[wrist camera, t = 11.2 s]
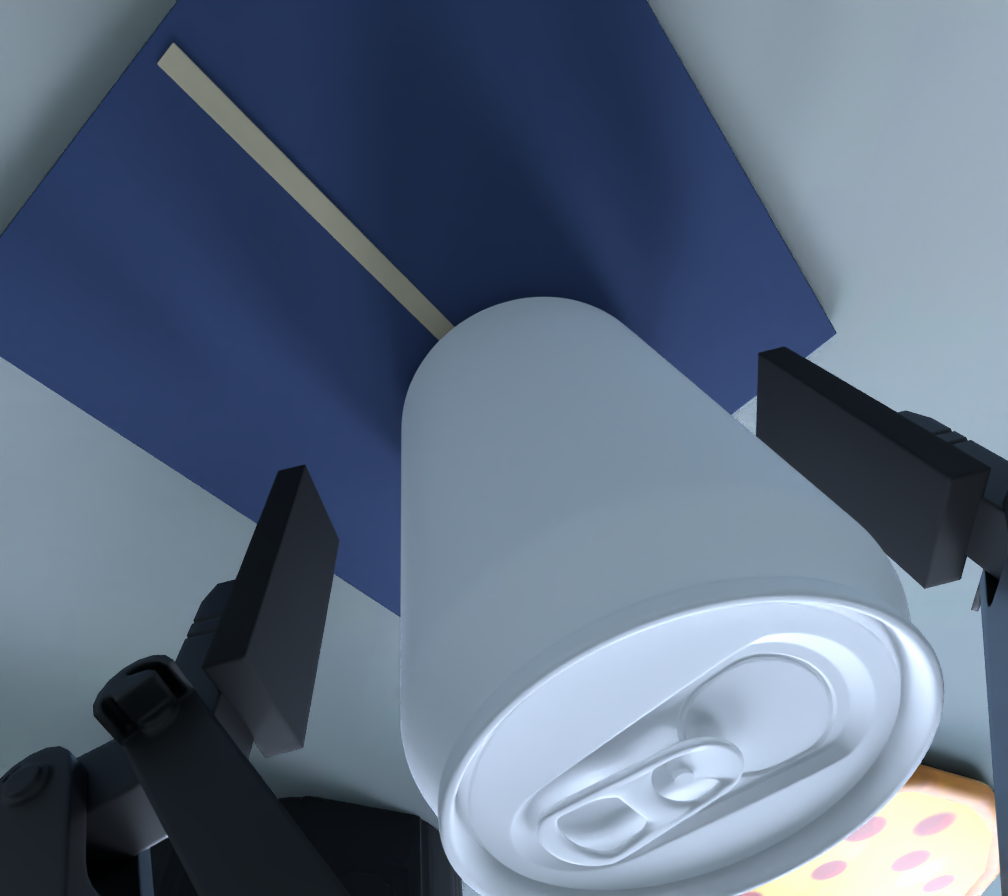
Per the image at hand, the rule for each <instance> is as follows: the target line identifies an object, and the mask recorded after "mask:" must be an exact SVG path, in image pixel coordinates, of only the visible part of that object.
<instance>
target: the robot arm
mask: <svg viewBox="0 0 1008 896" xmlns="http://www.w3.org/2000/svg"><path fill="white" fill-rule="evenodd" d="M756 437H758V438H759V439H760V440H761V441H762V442H763V443H765V444H766V445H767V446H768V447H769V448H771V449H772V450H773V451H774V452H775V453H776V454H778V455H779V456H780V457H781V458H782V459H784V460H785V461H786V462H787V463H788V464H789V465H791V466H792V467H793V468H794V469H795V470H796V471H798V472H799V473H800V474H801V475H802V476H804V477H805V478H806V479H807V480H808V481H809V482H811V483H812V484H813V485H814V486H815V487H817V488H818V489H819V490H820V491H821V492H822V493H824V494H825V495H826V496H827V497H828V498H830V499H831V500H832V501H833V502H834V503H835V504H837V505H838V506H839V507H840V508H841V509H842V510H844V511H845V512H846V513H847V514H848V515H850V516H851V517H852V518H853V519H854V520H855V521H856V522H858V523H859V524H860V525H861V526H862V527H863V528H864V529H865V530H866V531H867V532H868V533H869V534H870V535H871V536H872V537H873V538H874V540H875V541H876V542H877V543H878V545H879V546H880V547H881V549H882V550H883V551H884V552H885V553H886V554H887V555H888V556H889V557H890V558H891V559H892V560H893V561H895V562H896V563H897V564H898V565H899V566H900V567H901V568H902V569H903V570H905V571H906V572H907V573H908V574H909V575H910V576H911V577H912V578H913V579H915V580H916V581H917V582H918V583H919V584H920V585H921V586H922V587H923V588H924V589H925V588H929V587H933V586H937V585H941V584H945V583H949V582H953V581H957V580H960V579H961V576H962V573H963V569H964V565H965V562H966V558H967V556H968V557H969V558H970V559H971V560H973V561H974V562H975V563H977V564H978V565H979V566H980V567H982V568H983V572H982V575H981V578H980V582H979V585H978V588H977V592H976V595H975V598H974V602H973V605H972V608H971V610H974V611H978V610H979V608H980V605H981V614H982V628H983V642H984V656H985V670H986V683H987V697H988V711H989V725H990V739H991V753H992V767H993V781H994V794H995V808H996V822H997V836H998V850H999V864H1000V878H1001V891H1002V896H1008V461H1007V460H1005V459H1004V458H1002V457H1000V456H998V455H996V454H995V453H993V452H991V451H989V450H988V449H986V448H984V447H982V446H980V445H979V444H977V443H975V442H973V441H972V440H969V441H968V440H967V438H966V437H964V436H963V435H961V434H959V433H957V432H955V431H953V432H952V431H951V429H950V428H948V427H947V426H945V425H943V424H941V423H939V422H938V421H936V420H934V419H932V418H930V417H926V416H923V415H919V414H916V413H913V412H909V411H902V412H898V413H897V412H896V411H894V410H892V409H890V408H889V407H887V406H885V405H884V404H882V403H880V402H879V401H877V400H875V399H873V398H872V397H870V396H868V395H867V394H865V393H863V392H862V391H860V390H858V389H856V388H855V387H853V386H851V385H850V384H848V383H846V382H845V381H843V380H841V379H840V378H838V377H836V376H834V375H833V374H831V373H829V372H828V371H826V370H824V369H823V368H821V367H819V366H817V365H816V364H814V363H812V362H811V361H809V360H807V359H806V358H804V357H802V356H800V355H799V354H797V353H795V352H794V351H792V350H790V349H789V348H787V347H785V346H783V347H779V348H775V349H771V350H767V351H763V352H759V353H758V384H757V422H756ZM339 541H340V540H339V538H338V536H337V534H336V531H335V529H334V527H333V525H332V522H331V520H330V518H329V516H328V514H327V511H326V509H325V507H324V505H323V502H322V500H321V498H320V496H319V493H318V491H317V489H316V487H315V485H314V482H313V480H312V478H311V476H310V473H309V471H308V469H307V467H306V464H304V465H300V466H296V467H291V468H287V469H283V470H279V471H278V472H277V475H276V477H275V480H274V483H273V485H272V488H271V490H270V493H269V495H268V498H267V500H266V503H265V506H264V508H263V511H262V513H261V516H260V518H259V521H258V523H257V526H256V529H255V531H254V534H253V536H252V539H251V541H250V544H249V547H248V549H247V552H246V554H245V557H244V559H243V562H242V564H241V567H240V570H239V572H238V575H237V577H236V579H235V580H231V581H227V582H223V583H219V584H217V585H216V586H215V587H214V588H213V590H212V591H211V592H210V593H209V594H208V595H207V596H206V598H205V599H204V600H203V601H202V602H201V605H200V607H199V609H198V611H197V614H196V616H195V618H194V624H192V625H191V627H190V629H189V632H188V634H187V639H185V641H184V643H183V645H182V647H181V650H180V652H179V654H178V656H177V659H176V661H175V662H174V661H173V659H171V658H169V657H167V656H166V655H152V656H149V657H146V658H143V659H140V660H138V661H136V662H134V663H132V664H131V665H129V666H127V667H125V668H123V669H122V670H121V671H120V672H119V673H117V674H116V675H115V676H114V677H113V678H111V679H110V680H109V681H108V682H107V684H106V685H105V686H104V687H103V688H102V690H101V691H100V692H99V693H98V695H97V698H96V700H95V702H94V704H93V715H94V717H95V718H96V719H97V720H98V721H99V722H100V724H101V725H102V726H103V727H104V728H105V729H106V730H107V731H108V732H109V733H110V734H111V736H112V737H113V738H114V739H113V740H111V741H109V742H107V743H105V744H103V745H101V746H99V747H97V748H95V749H93V750H91V751H90V752H88V753H86V754H84V755H82V756H80V757H78V758H76V757H75V756H74V755H73V754H72V753H71V752H70V751H69V750H67V749H65V748H63V747H60V746H57V747H49V748H45V749H43V750H40V751H38V752H36V753H33V754H31V755H29V756H28V757H26V758H25V759H23V760H22V761H20V762H19V763H18V764H16V765H15V766H13V767H12V768H11V769H10V770H9V771H8V772H7V773H6V774H5V775H4V776H3V777H1V778H0V896H154V890H153V878H152V866H151V854H150V847H152V846H154V845H155V844H157V843H159V842H161V841H162V840H164V839H166V838H169V840H170V842H171V844H172V846H173V848H174V850H175V851H176V853H177V855H178V857H179V859H180V861H181V863H182V865H183V867H184V869H185V871H186V873H187V875H188V876H189V878H190V880H191V882H192V884H193V886H194V888H195V890H196V892H197V894H198V896H351V895H350V894H349V892H348V891H347V890H346V888H345V887H344V886H343V884H342V883H341V882H340V880H339V879H338V878H337V876H336V875H335V874H334V872H333V871H332V870H331V868H330V867H329V866H328V864H327V863H326V862H325V861H324V859H323V858H322V857H321V855H320V854H319V853H318V851H317V850H316V849H315V847H314V846H313V845H312V843H311V842H310V841H309V839H308V838H307V837H306V835H305V834H304V833H303V831H302V830H301V829H300V828H299V826H298V825H297V824H296V822H295V821H294V820H293V818H292V817H291V816H290V814H289V813H288V812H287V810H286V809H285V808H284V806H283V805H282V804H281V802H280V801H279V800H278V799H277V797H276V796H275V795H274V793H273V792H272V791H271V789H270V788H269V787H268V785H267V784H266V783H265V781H264V780H263V779H262V777H261V776H260V775H259V773H258V772H257V771H256V769H255V768H254V767H253V766H252V764H251V763H250V762H249V756H250V752H251V748H252V744H253V741H254V742H255V744H256V745H257V747H258V748H259V749H260V751H261V752H262V754H263V755H264V757H265V758H266V757H270V756H274V755H278V754H282V753H286V752H290V751H294V750H298V749H301V748H303V746H304V740H305V734H306V729H307V723H308V717H309V712H310V706H311V700H312V694H313V689H314V683H315V677H316V672H317V666H318V660H319V655H320V649H321V643H322V638H323V632H324V626H325V621H326V615H327V609H328V603H329V598H330V592H331V586H332V581H333V575H334V569H335V564H336V558H337V552H338V547H339Z"/></svg>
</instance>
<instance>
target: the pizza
mask: <svg viewBox="0 0 1008 896" xmlns="http://www.w3.org/2000/svg"><path fill="white" fill-rule="evenodd" d="M999 873H1000V864H999V850H998V836H997V822H996V808H995V794H994V792H993V791H992V789H991V788H990V787H989V785H987V784H985V783H983V782H981V781H978V780H974V779H971V778H967V777H964V776H960V775H957V774H953V773H950V772H946V771H943V770H939V769H936V768H932V767H929V766H925V765H922V764H919V766H918V767H917V769H916V770H915V772H914V773H913V774H912V776H911V777H910V778H909V780H908V781H907V782H906V783H905V785H904V786H903V787H902V788H901V789H900V790H899V792H898V793H897V794H896V795H895V796H894V797H893V798H892V799H891V800H890V801H889V802H888V803H887V804H886V805H885V806H884V807H883V808H882V809H881V810H880V811H879V812H878V813H877V814H876V815H875V816H873V817H872V818H871V819H870V820H869V821H868V822H866V823H865V824H864V825H863V826H862V827H860V828H859V829H858V830H857V831H855V832H854V833H853V834H851V835H850V836H849V837H847V838H846V839H844V840H843V841H842V842H840V843H839V844H837V845H836V846H834V847H833V848H831V849H830V850H828V851H827V852H825V853H824V854H822V855H820V856H819V857H817V858H815V859H814V860H812V861H810V862H809V863H807V864H805V865H803V866H801V867H800V868H798V869H796V870H794V871H792V872H790V873H788V874H786V875H784V876H782V877H780V878H778V879H776V880H774V881H772V882H769V883H767V884H765V885H763V886H760V887H758V888H756V889H753V890H751V891H748V892H746V893H743V894H741V895H738V896H980V895H981V894H982V893H983V892H984V890H985V889H986V888H987V887H988V886H989V885H990V883H991V882H992V881H993V880H994V879H995V878H996V877H997V875H998V874H999Z"/></svg>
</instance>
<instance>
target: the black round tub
mask: <svg viewBox="0 0 1008 896" xmlns="http://www.w3.org/2000/svg"><path fill="white" fill-rule="evenodd" d="M278 800H279V801H280V802H281V804H282V805H283V806H284V808H285V809H286V810H287V812H288V813H289V814H290V816H291V817H292V818H293V820H294V821H295V822H296V824H297V825H298V826H299V828H300V829H301V830H302V831H303V833H304V834H305V835H306V837H307V838H308V839H309V841H310V842H311V843H312V845H313V846H314V847H315V849H316V850H317V851H318V853H319V854H320V855H321V857H322V858H323V859H324V861H325V862H326V863H327V864H328V866H329V867H330V868H331V870H332V871H333V872H334V874H335V875H336V876H337V878H338V879H339V880H340V882H341V883H342V884H343V886H344V887H345V888H346V890H347V891H348V892H349V894H350V895H351V896H463V895H462V881H461V877H460V876H459V875H458V874H457V872H456V871H455V870H454V868H453V867H452V865H451V864H450V862H449V860H448V858H447V856H446V853H445V851H444V848H443V845H442V842H441V837H440V832H439V831H438V830H436V829H435V828H434V827H433V826H431V825H430V824H428V823H426V822H424V821H422V820H421V819H420V817H418V816H412V815H407V814H402V813H396V812H391V811H385V810H380V809H375V808H369V807H364V806H358V805H353V804H347V803H342V802H337V801H331V800H326V799H320V798H315V797H309V796H306V797H303V798H283V799H278ZM150 854H151V866H152V878H153V890H154V896H198V894H197V892H196V890H195V888H194V886H193V884H192V882H191V880H190V878H189V876H188V875H187V873H186V871H185V869H184V867H183V865H182V863H181V861H180V859H179V857H178V855H177V853H176V851H175V850H174V848H173V846H172V844H171V842H170V840H169V838H166V839H164V840H162V841H161V842H159V843H157V844H155V845H154V846H152V847H150Z"/></svg>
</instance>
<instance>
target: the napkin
mask: <svg viewBox="0 0 1008 896" xmlns="http://www.w3.org/2000/svg"><path fill="white" fill-rule="evenodd" d="M530 297H558V298H566V299H571V300H576V301H580V302H583V303H586V304H589V305H592V306H594V307H596V308H599V309H601V310H603V311H605V312H606V313H608V314H610V315H611V316H613V317H614V318H616V319H617V320H619V321H620V322H621V323H623V324H624V325H625V326H626V327H628V328H629V329H630V330H631V331H632V332H634V333H635V334H636V335H637V336H638V337H639V338H641V339H642V340H643V341H644V342H645V343H647V344H648V345H649V346H650V347H651V348H652V349H654V350H655V351H656V352H657V353H658V354H660V355H661V356H662V357H663V358H664V359H665V360H667V361H668V362H669V363H670V364H671V365H673V366H674V367H675V368H676V369H677V370H678V371H680V372H681V373H682V374H683V375H684V376H685V377H687V378H688V379H689V380H690V381H691V382H693V383H694V384H695V385H696V386H697V387H698V388H700V389H701V390H702V391H703V392H704V393H706V394H707V395H708V396H709V397H710V398H711V399H713V400H714V401H715V402H716V403H717V404H719V405H720V406H721V407H722V408H723V409H724V410H726V411H727V412H728V413H729V414H730V415H731V414H733V413H734V412H735V411H737V410H738V409H739V408H740V407H742V406H743V405H744V404H746V403H747V402H748V401H750V400H751V399H752V398H753V397H755V396H756V395H757V384H758V353H759V352H763V351H767V350H771V349H775V348H779V347H783V346H785V347H787V348H789V349H790V350H792V351H794V352H795V353H797V354H799V355H800V356H802V357H804V358H805V357H807V356H808V355H809V354H811V353H812V352H813V351H814V350H816V349H817V348H818V347H820V346H821V345H822V344H823V343H825V342H826V341H827V340H829V339H830V338H831V337H833V336H834V335H835V334H836V331H835V329H834V327H833V326H832V324H831V322H830V320H829V319H828V317H827V315H826V313H825V312H824V310H823V308H822V306H821V305H820V303H819V301H818V299H817V298H816V296H815V294H814V292H813V291H812V289H811V287H810V285H809V284H808V282H807V280H806V278H805V277H804V275H803V273H802V272H801V270H800V268H799V266H798V265H797V263H796V261H795V259H794V258H793V256H792V254H791V252H790V251H789V249H788V247H787V245H786V244H785V242H784V240H783V238H782V237H781V235H780V233H779V231H778V230H777V228H776V226H775V224H774V223H773V221H772V219H771V217H770V216H769V214H768V212H767V210H766V209H765V207H764V205H763V203H762V202H761V200H760V198H759V196H758V195H757V193H756V191H755V189H754V188H753V186H752V184H751V182H750V181H749V179H748V177H747V175H746V174H745V172H744V170H743V168H742V167H741V165H740V163H739V161H738V160H737V158H736V156H735V154H734V153H733V151H732V149H731V147H730V146H729V144H728V142H727V140H726V139H725V137H724V135H723V133H722V132H721V130H720V128H719V126H718V125H717V123H716V121H715V119H714V118H713V116H712V114H711V112H710V111H709V109H708V107H707V105H706V104H705V102H704V100H703V98H702V97H701V95H700V93H699V91H698V90H697V88H696V86H695V84H694V83H693V81H692V79H691V77H690V76H689V74H688V72H687V70H686V69H685V67H684V65H683V63H682V62H681V60H680V58H679V56H678V55H677V53H676V51H675V49H674V48H673V46H672V44H671V42H670V41H669V39H668V37H667V35H666V34H665V32H664V30H663V28H662V27H661V25H660V23H659V21H658V20H657V18H656V16H655V14H654V13H653V11H652V9H651V7H650V6H649V4H648V2H647V0H178V1H177V2H176V3H175V5H174V6H173V7H172V9H171V10H170V11H169V13H168V14H167V15H166V17H165V18H164V19H163V21H162V22H161V23H160V25H159V26H158V27H157V29H156V30H155V31H154V33H153V34H152V35H151V37H150V38H149V39H148V41H147V42H146V43H145V45H144V46H143V47H142V49H141V50H140V51H139V52H138V54H137V55H136V56H135V58H134V59H133V60H132V62H131V63H130V64H129V66H128V67H127V68H126V70H125V71H124V72H123V74H122V75H121V76H120V78H119V79H118V80H117V82H116V83H115V84H114V86H113V87H112V88H111V90H110V91H109V92H108V94H107V95H106V96H105V98H104V99H103V100H102V102H101V103H100V104H99V106H98V107H97V108H96V110H95V111H94V112H93V114H92V115H91V116H90V118H89V119H88V120H87V122H86V123H85V124H84V126H83V127H82V128H81V130H80V131H79V132H78V134H77V135H76V136H75V138H74V139H73V140H72V141H71V143H70V144H69V145H68V147H67V148H66V149H65V151H64V152H63V153H62V155H61V156H60V157H59V159H58V160H57V161H56V163H55V164H54V165H53V167H52V168H51V169H50V171H49V172H48V173H47V175H46V176H45V177H44V179H43V180H42V181H41V183H40V184H39V185H38V187H37V188H36V189H35V191H34V192H33V193H32V195H31V196H30V197H29V199H28V200H27V201H26V203H25V204H24V205H23V207H22V208H21V209H20V211H19V212H18V213H17V215H16V216H15V217H14V219H13V220H12V221H11V223H10V224H9V225H8V227H7V228H6V229H5V230H4V232H3V233H2V234H1V236H0V357H2V358H4V359H5V360H7V361H8V362H10V363H11V364H13V365H14V366H16V367H17V368H19V369H20V370H22V371H23V372H25V373H27V374H28V375H30V376H31V377H33V378H34V379H36V380H37V381H39V382H40V383H42V384H43V385H45V386H46V387H48V388H50V389H51V390H53V391H54V392H56V393H57V394H59V395H60V396H62V397H63V398H65V399H66V400H68V401H70V402H71V403H73V404H74V405H76V406H77V407H79V408H80V409H82V410H83V411H85V412H86V413H88V414H89V415H91V416H93V417H94V418H96V419H97V420H99V421H100V422H102V423H103V424H105V425H106V426H108V427H109V428H111V429H113V430H114V431H116V432H117V433H119V434H120V435H122V436H123V437H125V438H126V439H128V440H129V441H131V442H132V443H134V444H136V445H137V446H139V447H140V448H142V449H143V450H145V451H146V452H148V453H149V454H151V455H152V456H154V457H155V458H157V459H159V460H160V461H162V462H163V463H165V464H166V465H168V466H169V467H171V468H172V469H174V470H175V471H177V472H179V473H180V474H182V475H183V476H185V477H186V478H188V479H189V480H191V481H192V482H194V483H195V484H197V485H198V486H200V487H202V488H203V489H205V490H206V491H208V492H209V493H211V494H212V495H214V496H215V497H217V498H218V499H220V500H222V501H223V502H225V503H226V504H228V505H229V506H231V507H232V508H234V509H235V510H237V511H238V512H240V513H241V514H243V515H245V516H246V517H248V518H249V519H251V520H252V521H254V522H255V523H258V521H259V518H260V516H261V513H262V511H263V508H264V506H265V503H266V500H267V498H268V495H269V493H270V490H271V488H272V485H273V483H274V480H275V477H276V475H277V472H278V471H279V470H283V469H287V468H291V467H296V466H300V465H304V464H306V467H307V469H308V471H309V473H310V476H311V478H312V480H313V482H314V485H315V487H316V489H317V491H318V493H319V496H320V498H321V500H322V502H323V505H324V507H325V509H326V511H327V514H328V516H329V518H330V520H331V522H332V525H333V527H334V529H335V531H336V534H337V536H338V538H339V540H340V541H339V547H338V552H337V558H336V564H335V569H334V574H335V575H337V576H338V577H340V578H341V579H343V580H344V581H346V582H347V583H349V584H350V585H352V586H354V587H355V588H357V589H358V590H360V591H361V592H363V593H364V594H366V595H367V596H369V597H370V598H372V599H373V600H375V601H377V602H378V603H380V604H381V605H383V606H384V607H386V608H387V609H389V610H390V611H392V612H393V613H395V614H397V615H398V616H400V617H401V428H402V414H403V408H404V403H405V399H406V395H407V392H408V389H409V386H410V384H411V382H412V379H413V377H414V375H415V373H416V371H417V369H418V368H419V366H420V364H421V363H422V361H423V360H424V358H425V357H426V356H427V354H428V353H429V352H430V351H431V349H432V348H433V347H434V346H435V345H436V344H437V343H438V342H439V341H440V340H441V339H442V338H443V337H444V336H445V335H446V334H447V333H448V332H449V331H451V330H452V329H453V328H454V327H456V326H457V325H458V324H460V323H461V322H463V321H464V320H466V319H467V318H469V317H471V316H473V315H474V314H476V313H478V312H480V311H482V310H485V309H487V308H489V307H492V306H495V305H497V304H501V303H504V302H508V301H512V300H516V299H522V298H530Z"/></svg>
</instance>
